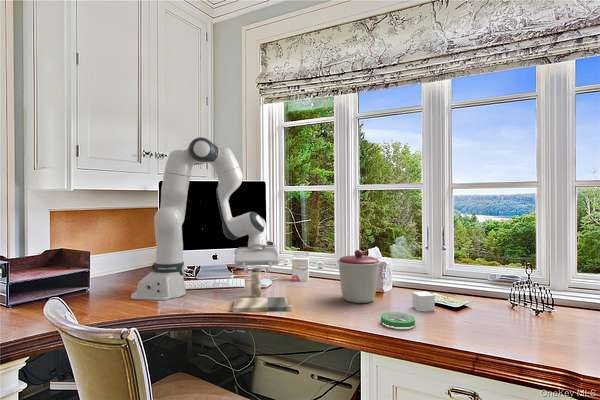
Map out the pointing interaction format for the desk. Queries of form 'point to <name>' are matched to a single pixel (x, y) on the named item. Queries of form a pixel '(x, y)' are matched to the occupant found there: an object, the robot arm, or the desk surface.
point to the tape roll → (397, 315)
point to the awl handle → (256, 283)
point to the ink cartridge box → (300, 266)
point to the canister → (358, 277)
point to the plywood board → (262, 304)
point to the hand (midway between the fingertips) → (257, 272)
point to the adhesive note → (423, 301)
